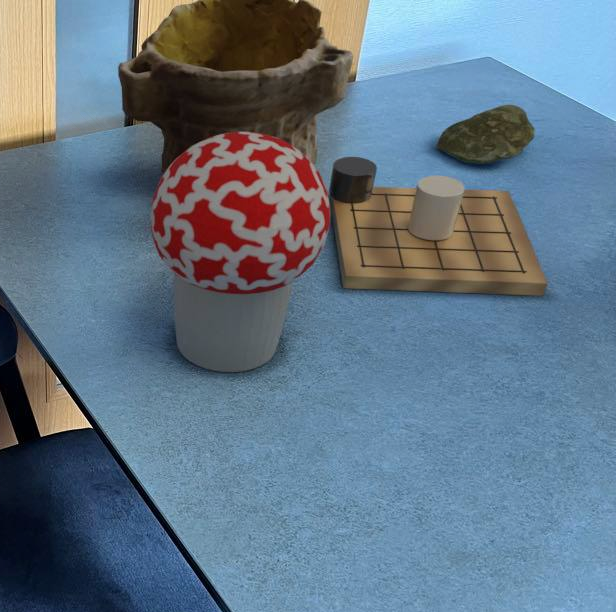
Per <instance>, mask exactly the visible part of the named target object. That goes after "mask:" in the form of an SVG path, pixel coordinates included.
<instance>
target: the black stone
mask: <svg viewBox="0 0 616 612" xmlns="http://www.w3.org/2000/svg"><path fill="white" fill-rule="evenodd" d="M331 169H332V170H331V176H330V182H329V188H328V195H331V196H332V197H333V198H335V199H337V200H339V201H343V202H349V203H358V202H363V201H366V200H368V199H369V198H370V197H371V196H372V191H373V187H375V186H374V184H375V181H376V175H377V169H378V167H377V164H376V163H375V162H374V161H372V160H370V159H367V158H364V157H360V156H345V157H344V156H343V157H340V158H338V159H336V160H335V161H334V162H333V164H332V168H331Z"/></svg>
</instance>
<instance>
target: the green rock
mask: <svg viewBox="0 0 616 612" xmlns="http://www.w3.org/2000/svg"><path fill="white" fill-rule="evenodd" d="M535 131H536V129H535V127H534V126H533V124H532V123H531V122H530V120H529V118H528V115H527V112H526V111H525V110H524V109H523V108H522V107H520V106H518V105H514V104H503V105H500V106H496V107H493V108H491V109H487V110H485V111H482V112H479V113H476V114H474V115H473V116H471V117H470V118H466V119H463V120H461V121H458V122H455V123H453V124H451V125H449V126H448V127H447V128H445V129H444V130H443V131H442V132H441V134H440V136H439V138H438V140H437V143H436V148H437V149H438V150H439V151H441V152H443V153H446V154H447V155H449V156H451V157H453V158H454V159H456V160H457V161H461V162H463V163H467V164H476V165H484V164H490V163H497V162H498V161H503V160H507V159H511V158H513V157H515V156H519V154H521V153H523V150H524V149H525V148H526V147H528V146H529V144H530V143H531V142H532V141H533V140H534V139H535Z"/></svg>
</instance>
